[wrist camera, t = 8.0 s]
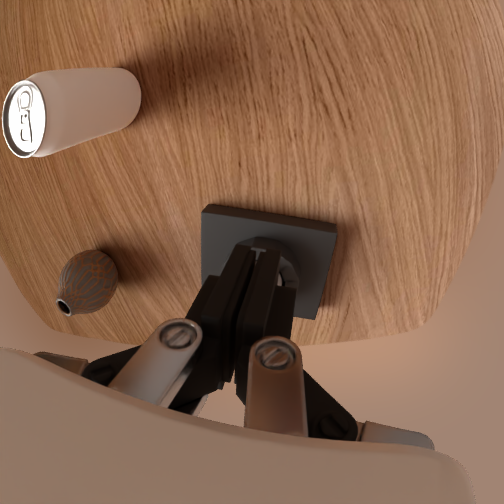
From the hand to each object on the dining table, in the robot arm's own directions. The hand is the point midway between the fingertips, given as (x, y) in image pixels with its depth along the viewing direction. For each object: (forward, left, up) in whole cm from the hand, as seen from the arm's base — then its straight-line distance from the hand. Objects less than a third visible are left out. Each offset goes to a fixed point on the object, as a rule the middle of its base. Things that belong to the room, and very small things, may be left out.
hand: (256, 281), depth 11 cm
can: (+17, -6, -16) cm, 24 cm away
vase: (+21, +14, -16) cm, 30 cm away
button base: (+1, +9, -16) cm, 19 cm away
